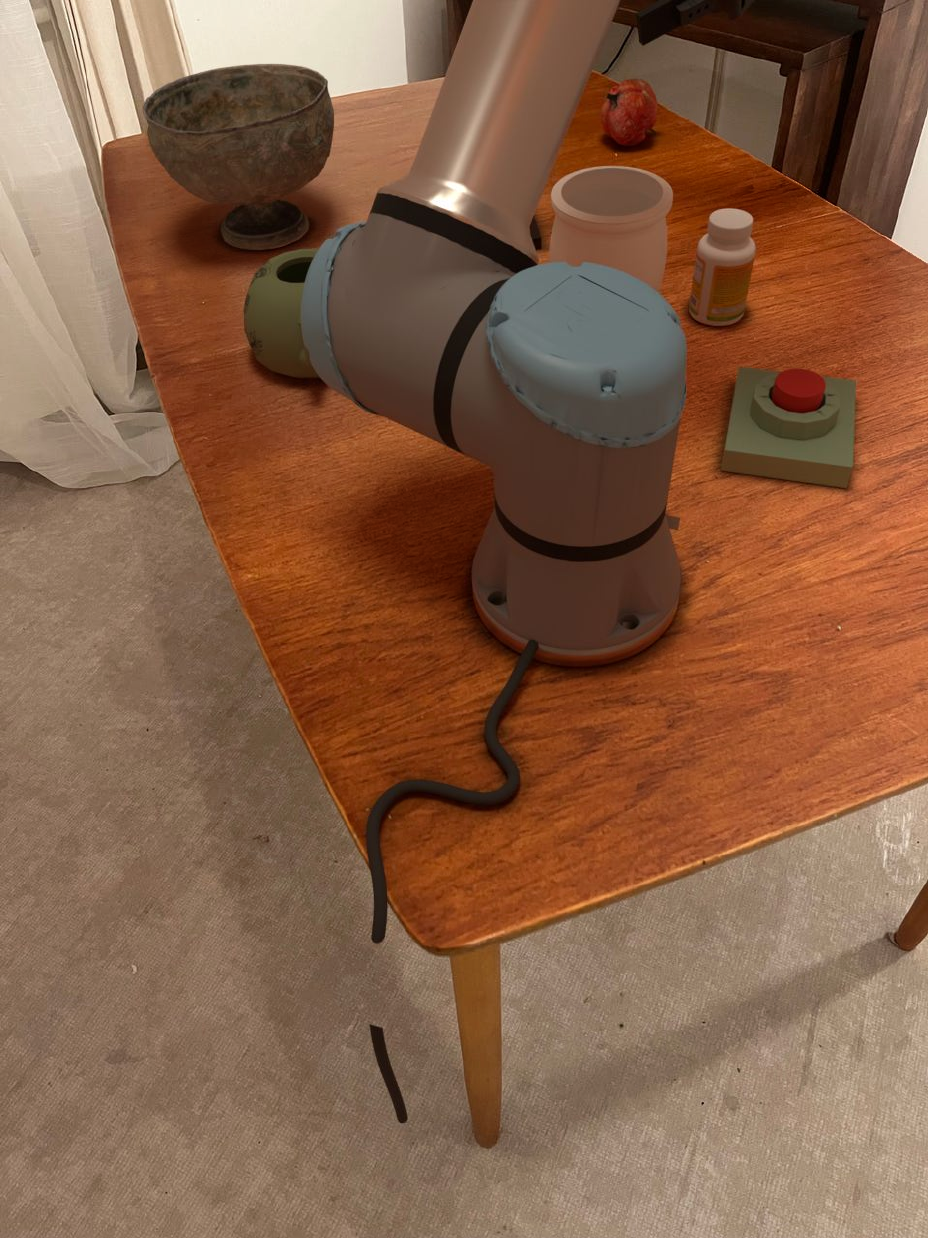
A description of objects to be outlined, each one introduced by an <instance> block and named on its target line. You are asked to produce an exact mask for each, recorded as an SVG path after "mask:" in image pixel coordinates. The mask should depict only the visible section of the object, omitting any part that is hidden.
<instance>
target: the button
mask: <svg viewBox="0 0 928 1238" xmlns="http://www.w3.org/2000/svg"><path fill="white" fill-rule="evenodd" d="M821 376H822V375H820V374H819V373H817V372H815V371H813V370H810V369H806V368H798V367H797V368H788V369H784V370H781V373H779V374H778V375H777V377H776V379H775V383H774V388H773V392H772V401H773V403H774V404H775V406H777V407H779V408H781V409H783V410H785V411H787V412H794V413H802V414H803V413H808V412H813V411H816V410H817V409H818V408H819V407H820V405H821V403H822V399H823V395H824V392H825V388H826V383H825V380H824V379H823V378H822V377H821Z"/></svg>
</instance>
